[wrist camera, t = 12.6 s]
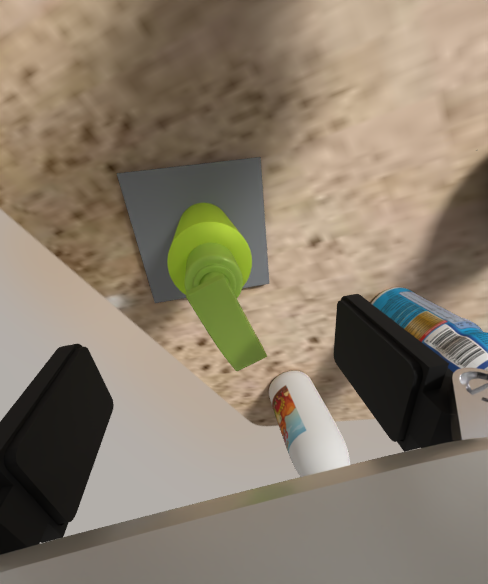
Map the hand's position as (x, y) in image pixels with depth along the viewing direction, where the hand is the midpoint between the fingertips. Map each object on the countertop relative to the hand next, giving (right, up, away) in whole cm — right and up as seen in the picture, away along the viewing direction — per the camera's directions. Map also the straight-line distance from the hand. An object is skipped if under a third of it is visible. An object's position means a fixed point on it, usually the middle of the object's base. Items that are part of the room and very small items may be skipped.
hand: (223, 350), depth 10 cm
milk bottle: (+9, -14, +34) cm, 38 cm away
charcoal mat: (-4, +9, +21) cm, 23 cm away
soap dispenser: (-4, +9, +20) cm, 22 cm away
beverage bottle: (+24, 0, +31) cm, 39 cm away
